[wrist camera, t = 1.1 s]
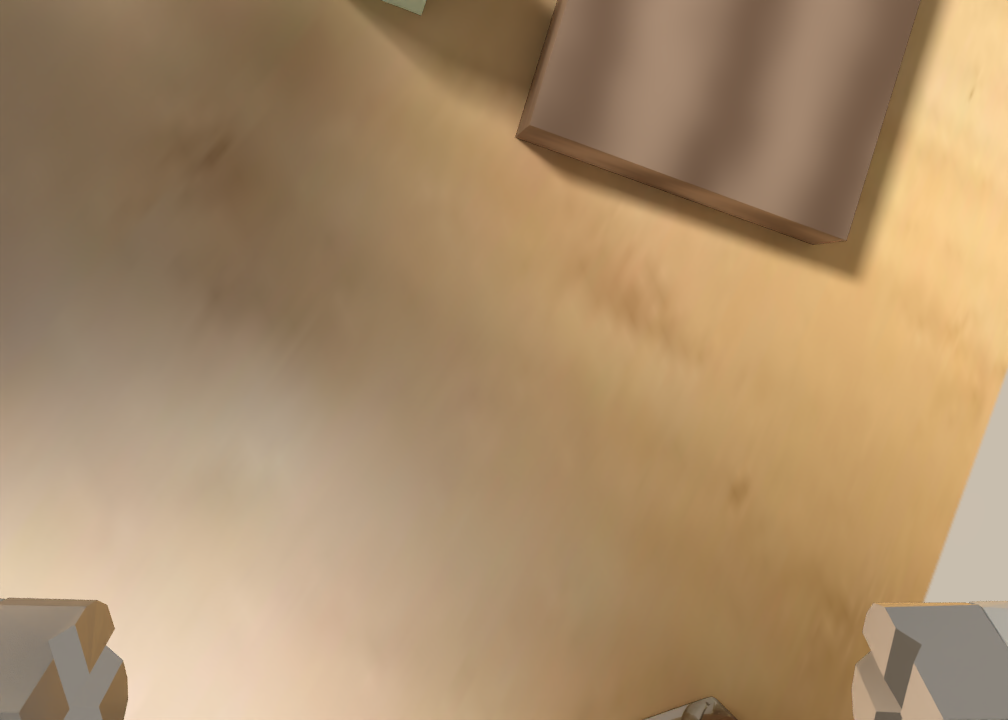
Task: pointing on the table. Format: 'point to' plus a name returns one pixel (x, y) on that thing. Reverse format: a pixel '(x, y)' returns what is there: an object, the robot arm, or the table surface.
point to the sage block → (409, 5)
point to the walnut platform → (725, 100)
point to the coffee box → (697, 711)
